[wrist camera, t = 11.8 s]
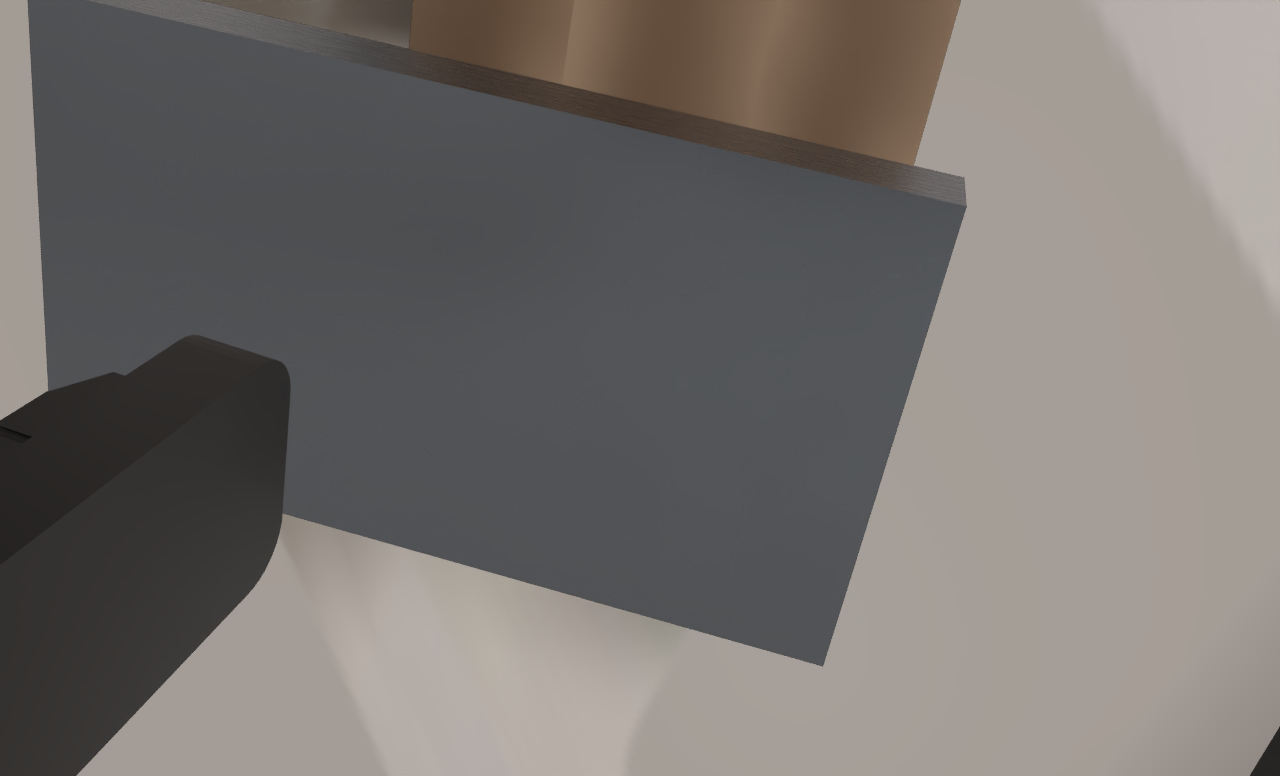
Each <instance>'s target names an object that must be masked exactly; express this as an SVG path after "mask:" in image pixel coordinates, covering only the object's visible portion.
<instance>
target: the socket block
mask: <svg viewBox="0 0 1280 776" xmlns="http://www.w3.org/2000/svg"><path fill="white" fill-rule="evenodd" d="M960 2H961V0H413V8H412V19H411V31H410V42H409V49H412V50H416V51H420V52H425V53H429V54H433V55H438V56H442V57H446V58H451V59H455V60H459V61H464V62H468V63H472V64H476V65H481V66H485V67H489V68H494V69H498V70H502V71H507V72H511V73H515V74H520V75H524V76H528V77H533V78H537V79H541V80H546V81H550V82H554V83H558V84H563V85H567V86H571V87H576V88H580V89H584V90H589V91H593V92H597V93H602V94H606V95H610V96H615V97H619V98H623V99H627V100H632V101H636V102H640V103H645V104H649V105H653V106H658V107H662V108H666V109H671V110H675V111H679V112H684V113H688V114H692V115H696V116H701V117H705V118H709V119H714V120H718V121H722V122H727V123H731V124H735V125H740V126H744V127H748V128H753V129H757V130H761V131H766V132H770V133H774V134H778V135H783V136H787V137H791V138H796V139H800V140H804V141H809V142H813V143H817V144H822V145H826V146H830V147H835V148H839V149H843V150H847V151H852V152H856V153H860V154H865V155H869V156H873V157H878V158H882V159H886V160H891V161H895V162H899V163H904V164H908V165H912V166H914V163H915V159H916V155H917V152H918V149H919V145H920V141H921V138H922V135H923V131H924V128H925V124H926V121H927V117H928V113H929V110H930V107H931V103H932V100H933V96H934V93H935V89H936V86H937V82H938V79H939V75H940V72H941V68H942V65H943V61H944V58H945V54H946V51H947V47H948V44H949V40H950V37H951V34H952V30H953V27H954V23H955V19H956V16H957V13H958V9H959V6H960Z"/></svg>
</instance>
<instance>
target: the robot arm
mask: <svg viewBox="0 0 1280 776" xmlns="http://www.w3.org/2000/svg"><path fill="white" fill-rule="evenodd" d="M290 389H291V385H290V377H289V373H288V370H287V368H286V366H285V365H284V364H283V363H282V362H280V361H278V360H275V359H272V358H269V357H265V356H262V355H259V354H256V353H253V352H250V351H247V350H243V349H240V348H237V347H234V346H231V345H228V344H225V343H222V342H218V341H215V340H212V339H209V338H206V337H203V336H200V335H190V336H186V337H184V338H182V339H180V340H179V341H177V342H176V343H174V344H173V345H171V346H170V347H168V348H166V349H165V350H163V351H162V352H160V353H159V354H157V355H156V356H154V357H153V358H151V359H150V360H148V361H147V362H145V363H144V364H142V365H141V366H139V367H138V368H136V369H135V370H133V371H132V372H130V373H129V374H127V375H125V376H124V375H121V374H118V373H115V372H111V373H108V374H105V375H101V376H98V377H95V378H91V379H88V380H84V381H81V382H78V383H74V384H71V385H68V386H64V387H61V388H58V389H54V390H51V391H47V392H45V393H44V394H42V395H41V396H39V397H37V398H36V399H34V400H33V401H31V402H29V403H28V404H26V405H24V406H23V407H21V408H20V409H18V410H16V411H15V412H13V413H11V414H10V415H8V416H7V417H5V418H3V419H2V420H0V776H76V775H77V774H78V773H79V772H80V771H81V770H82V769H83V768H84V767H85V766H86V765H87V764H88V762H90V761H91V759H92V758H93V757H94V756H95V755H96V754H97V753H98V752H99V751H100V750H101V749H102V748H103V747H104V746H105V745H106V744H107V743H108V741H109V740H110V739H111V738H112V737H113V736H114V735H115V734H116V733H117V732H118V731H119V730H120V729H121V728H122V727H123V726H124V725H125V723H127V721H128V720H129V719H130V718H131V717H132V716H133V715H134V714H135V713H136V712H137V711H138V710H139V708H141V707H142V706H143V705H144V703H145V702H146V701H147V700H148V699H149V698H150V697H151V696H152V695H153V694H154V693H155V692H156V691H157V690H158V689H159V688H160V687H161V685H162V684H163V683H164V682H165V681H166V680H167V679H168V678H169V677H170V676H171V675H172V674H173V673H174V672H175V671H176V670H177V668H179V667H180V665H181V664H182V663H183V662H184V661H185V660H186V659H187V658H188V657H189V656H190V655H191V654H192V653H193V652H194V651H195V650H196V649H197V648H198V646H199V645H200V644H201V643H202V642H203V641H204V640H205V639H206V638H207V637H208V636H209V635H210V634H211V633H212V632H213V631H214V629H216V627H217V626H218V625H219V624H220V623H221V622H222V621H223V620H224V619H225V618H226V617H227V616H228V615H229V614H230V613H231V612H232V610H234V608H235V607H236V606H237V605H238V604H239V603H240V602H241V601H242V600H243V599H244V598H245V597H246V596H247V595H248V594H249V592H250V591H251V590H252V589H253V588H254V586H255V585H256V584H257V582H258V581H259V579H260V578H261V576H262V574H263V573H264V571H265V569H266V567H267V565H268V563H269V561H270V559H271V556H272V554H273V552H274V549H275V546H276V543H277V540H278V536H279V533H280V528H281V522H282V513H283V498H284V483H285V468H286V453H287V438H288V423H289V408H290ZM1250 776H1280V727H1279V729H1278V731H1277V732H1276V734H1275V735H1274V737H1273V739H1272V740H1271V742H1270V744H1269V745H1268V747H1267V748H1266V750H1265V752H1264V753H1263V755H1262V757H1261V758H1260V760H1259V761H1258V763H1257V765H1256V766H1255V768H1254V770H1253V771H1252V773H1251V775H1250Z"/></svg>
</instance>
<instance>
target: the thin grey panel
mask: <svg viewBox="0 0 1280 776" xmlns="http://www.w3.org/2000/svg"><path fill="white" fill-rule="evenodd" d="M28 15H29V33H30V53H31V72H32V88H33V89H32V90H33V108H34V128H35V147H36V165H37V185H38V204H39V222H40V239H41V260H42V276H43V277H42V279H43V298H44V315H45V316H44V317H45V335H46V354H47V373H48V391H51V390H54V389H58V388H61V387H64V386H68V385H71V384H74V383H78V382H81V381H84V380H88V379H91V378H95V377H98V376H101V375H105V374H108V373H111V372H115V373H118V374H121V375H124V376H125V375H127V374H129V373H130V372H132V371H133V370H135V369H136V368H138V367H139V366H141V365H142V364H144V363H145V362H147V361H148V360H150V359H151V358H153V357H154V356H156V355H157V354H159V353H160V352H162V351H163V350H165V349H166V348H168V347H170V346H171V345H173V344H174V343H176V342H177V341H179V340H180V339H182V338H184V337H186V336H190V335H200V336H203V337H206V338H209V339H212V340H215V341H218V342H222V343H225V344H228V345H231V346H234V347H237V348H240V349H243V350H247V351H250V352H253V353H256V354H259V355H262V356H265V357H269V358H272V359H275V360H278V361H280V362H282V363H283V364H284V365H285V366H286V368H287V370H288V373H289V377H290V385H291V389H290V408H289V423H288V438H287V453H286V468H285V483H284V498H283V514H287V515H290V516H294V517H297V518H301V519H304V520H308V521H311V522H315V523H319V524H322V525H326V526H329V527H333V528H336V529H340V530H343V531H347V532H350V533H354V534H357V535H361V536H364V537H368V538H371V539H375V540H379V541H382V542H386V543H389V544H393V545H396V546H400V547H403V548H407V549H410V550H414V551H417V552H421V553H424V554H428V555H431V556H435V557H439V558H442V559H446V560H449V561H453V562H456V563H460V564H463V565H467V566H470V567H474V568H477V569H481V570H484V571H488V572H491V573H495V574H499V575H502V576H506V577H509V578H513V579H516V580H520V581H523V582H527V583H530V584H534V585H537V586H541V587H544V588H548V589H551V590H555V591H559V592H562V593H566V594H569V595H573V596H576V597H580V598H583V599H587V600H590V601H594V602H597V603H601V604H604V605H608V606H611V607H615V608H619V609H622V610H626V611H629V612H633V613H636V614H640V615H643V616H647V617H650V618H654V619H657V620H661V621H664V622H668V623H671V624H675V625H679V626H682V627H686V628H689V629H693V630H697V631H700V632H703V633H707V634H710V635H714V636H717V637H721V638H725V639H728V640H732V641H735V642H739V643H742V644H746V645H749V646H753V647H756V648H760V649H763V650H767V651H770V652H774V653H777V654H781V655H784V656H789V657H791V658H795V659H799V660H803V661H806V662H809V663H813V664H816V665H820V666H823V665H824V661H825V658H826V655H827V652H828V649H829V645H830V642H831V639H832V636H833V633H834V629H835V626H836V623H837V620H838V617H839V613H840V610H841V607H842V604H843V601H844V597H845V594H846V591H847V588H848V585H849V581H850V578H851V575H852V572H853V569H854V565H855V562H856V559H857V556H858V553H859V549H860V546H861V543H862V540H863V537H864V533H865V530H866V527H867V524H868V520H869V517H870V514H871V511H872V508H873V505H874V501H875V498H876V495H877V492H878V488H879V485H880V482H881V479H882V476H883V472H884V469H885V466H886V462H887V459H888V457H889V453H890V450H891V447H892V443H893V441H894V437H895V434H896V431H897V427H898V425H899V421H900V418H901V415H902V412H903V409H904V405H905V402H906V399H907V396H908V392H909V389H910V386H911V383H912V380H913V376H914V373H915V370H916V367H917V364H918V360H919V357H920V354H921V351H922V348H923V344H924V341H925V338H926V335H927V332H928V328H929V325H930V322H931V319H932V316H933V312H934V309H935V306H936V303H937V300H938V296H939V293H940V290H941V287H942V283H943V280H944V277H945V274H946V271H947V268H948V264H949V261H950V258H951V255H952V252H953V248H954V245H955V242H956V238H957V235H958V232H959V229H960V226H961V223H962V220H963V216H964V213H965V210H966V207H967V205H966V193H965V182H964V177H960V176H955V175H951V174H947V173H942V172H938V171H934V170H929V169H925V168H921V167H917V166H912V165H908V164H904V163H899V162H895V161H891V160H886V159H882V158H878V157H873V156H869V155H865V154H860V153H856V152H852V151H847V150H843V149H839V148H835V147H830V146H826V145H822V144H817V143H813V142H809V141H804V140H800V139H796V138H791V137H787V136H783V135H778V134H774V133H770V132H766V131H761V130H757V129H753V128H748V127H744V126H740V125H735V124H731V123H727V122H722V121H718V120H714V119H709V118H705V117H701V116H696V115H692V114H688V113H684V112H679V111H675V110H671V109H666V108H662V107H658V106H653V105H649V104H645V103H640V102H636V101H632V100H627V99H623V98H619V97H615V96H610V95H606V94H602V93H597V92H593V91H589V90H584V89H580V88H576V87H571V86H567V85H563V84H558V83H554V82H550V81H546V80H541V79H537V78H533V77H528V76H524V75H520V74H515V73H511V72H507V71H502V70H498V69H494V68H489V67H485V66H481V65H476V64H472V63H468V62H464V61H459V60H455V59H451V58H446V57H442V56H438V55H433V54H429V53H425V52H420V51H416V50H412V49H407V48H403V47H399V46H395V45H390V44H386V43H382V42H377V41H373V40H369V39H364V38H360V37H356V36H351V35H347V34H343V33H338V32H334V31H330V30H326V29H321V28H317V27H313V26H308V25H304V24H300V23H295V22H291V21H287V20H282V19H278V18H274V17H269V16H265V15H261V14H256V13H252V12H248V11H244V10H239V9H235V8H231V7H226V6H222V5H218V4H213V3H209V2H205V1H200V0H28Z"/></svg>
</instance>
